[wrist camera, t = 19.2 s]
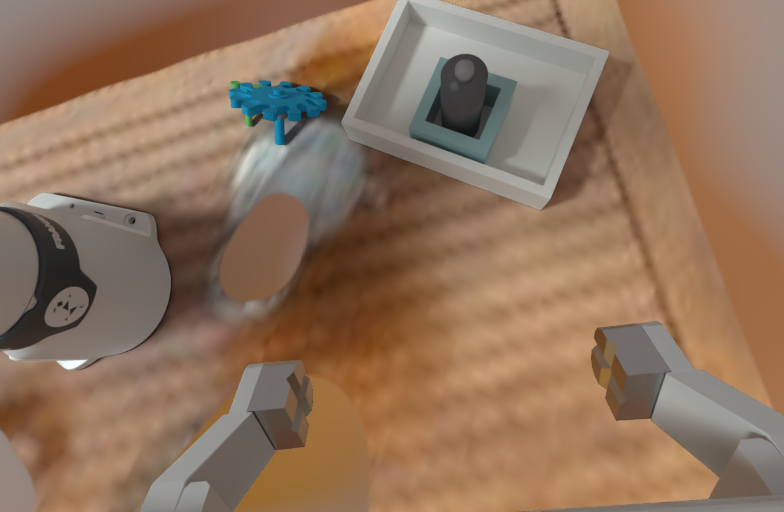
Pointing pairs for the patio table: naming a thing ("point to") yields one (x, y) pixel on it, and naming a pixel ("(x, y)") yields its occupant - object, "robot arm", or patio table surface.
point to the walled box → (501, 102)
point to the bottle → (463, 93)
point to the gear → (276, 103)
